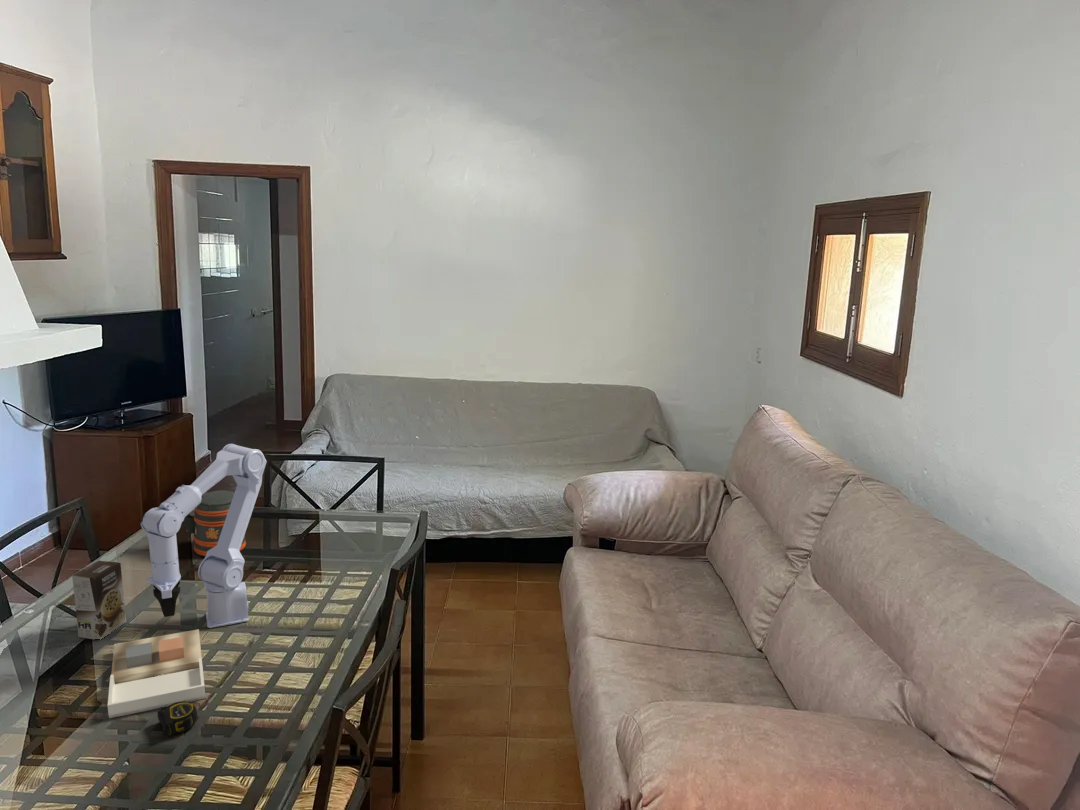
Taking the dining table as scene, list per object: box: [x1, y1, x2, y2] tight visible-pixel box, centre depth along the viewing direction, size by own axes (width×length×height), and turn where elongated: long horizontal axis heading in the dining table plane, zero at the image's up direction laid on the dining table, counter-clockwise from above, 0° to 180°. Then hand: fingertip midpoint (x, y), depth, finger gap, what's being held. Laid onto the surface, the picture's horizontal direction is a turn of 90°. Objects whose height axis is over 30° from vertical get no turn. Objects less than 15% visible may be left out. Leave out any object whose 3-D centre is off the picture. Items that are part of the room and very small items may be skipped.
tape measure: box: [157, 701, 198, 737], centre depth 160 cm, size 7×7×4 cm
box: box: [107, 658, 206, 719], centre depth 170 cm, size 18×12×3 cm, turn 115°
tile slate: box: [126, 642, 153, 668], centre depth 179 cm, size 5×5×2 cm
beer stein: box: [180, 484, 247, 558], centre depth 240 cm, size 19×15×20 cm
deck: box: [110, 628, 203, 684], centre depth 183 cm, size 18×15×2 cm
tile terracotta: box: [159, 637, 184, 662], centre depth 182 cm, size 5×5×2 cm
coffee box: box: [71, 560, 127, 641], centre depth 193 cm, size 9×6×16 cm
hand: (169, 613), depth 187 cm, fingers closed
